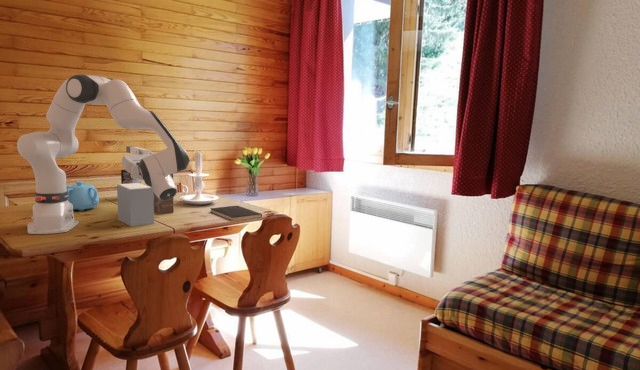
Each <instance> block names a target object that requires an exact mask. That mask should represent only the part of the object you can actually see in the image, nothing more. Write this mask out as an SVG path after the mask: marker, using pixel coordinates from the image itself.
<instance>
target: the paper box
mask: <svg viewBox="0 0 640 370" xmlns="http://www.w3.org/2000/svg"><path fill="white" fill-rule="evenodd" d="M116 188H117V191H116V192H117V193H116V194H117V195H116V196H117V219H118V221H120V222H121V223H124V224H126V225H127V226H129V227H138V226H145V225H147V226H148V225H153V224H155V211H154V193H153V191H152V189H151V187H150V186H148V185H147V184H143V183H142V182H141V183H129V184H121V183H118V184H117V185H116Z"/></svg>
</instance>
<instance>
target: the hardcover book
mask: <svg viewBox="0 0 640 370" xmlns="http://www.w3.org/2000/svg"><path fill="white" fill-rule="evenodd" d="M209 210H210V212H211V213H213V214H215V215H217V216H220V217H223V218H225V219H227V220H230V221H233V222H234V221H242V220H249V219H257V218H262V217H263V214H262V213H261V212H257V211H254V210H252V209H249V208H246V207H243V206H240V205H231V206H230V205H229V206H222V207H220V206H219V207H211V208H209Z"/></svg>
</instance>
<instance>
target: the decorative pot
mask: <svg viewBox="0 0 640 370" xmlns="http://www.w3.org/2000/svg"><path fill="white" fill-rule="evenodd" d="M66 186H67V191H68V201H69V202H70V203H71V204H72V205H73V210H78V212H85V211H86V210H91V209H92V210H93V209H94V208H95V207H97V206H98V205H99V203H100V198H99V194H98V193H99V192H98V189H97V188H96V187H95V186H94V185H93V184H91V183H90V184H84V181H81V180H78V181H76V182H75V184H66Z"/></svg>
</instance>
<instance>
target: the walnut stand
mask: <svg viewBox="0 0 640 370" xmlns="http://www.w3.org/2000/svg"><path fill="white" fill-rule="evenodd" d="M170 176H171V177H172V179H173V180H174V173H173V174H171V175H170ZM153 193H154V192H153ZM174 210H175V209H174V197H172V198H170V199H168V200H160V199H159V198H158V197H157V196H156V195H155V194H154V213H155V212H156V213H157V214H160V215H166V214H173V213H174Z"/></svg>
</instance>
